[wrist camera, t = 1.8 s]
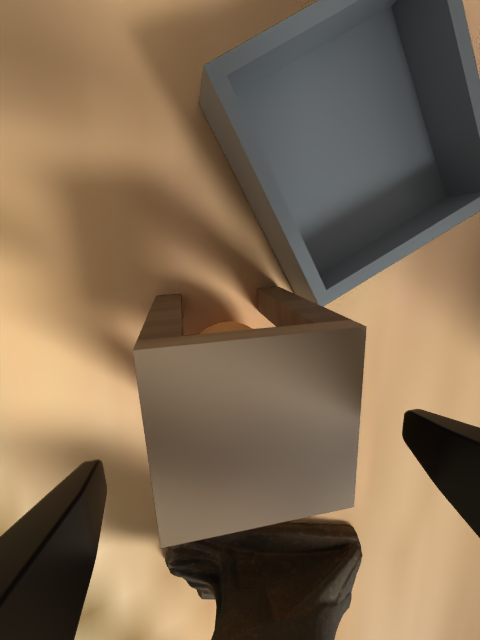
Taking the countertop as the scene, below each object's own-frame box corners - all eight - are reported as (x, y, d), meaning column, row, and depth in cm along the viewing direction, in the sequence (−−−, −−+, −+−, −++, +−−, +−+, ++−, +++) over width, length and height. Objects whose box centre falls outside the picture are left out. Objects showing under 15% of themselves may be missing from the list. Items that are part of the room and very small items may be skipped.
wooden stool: (156, 295, 15) (132, 350, 8) (278, 286, 16) (366, 326, 9) (169, 409, 17) (160, 548, 9) (279, 394, 18) (353, 507, 10)
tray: (390, -7, 14) (445, -72, 11) (450, 203, 17) (505, 195, 14) (198, 103, 13) (203, 65, 11) (296, 296, 17) (320, 308, 14)
